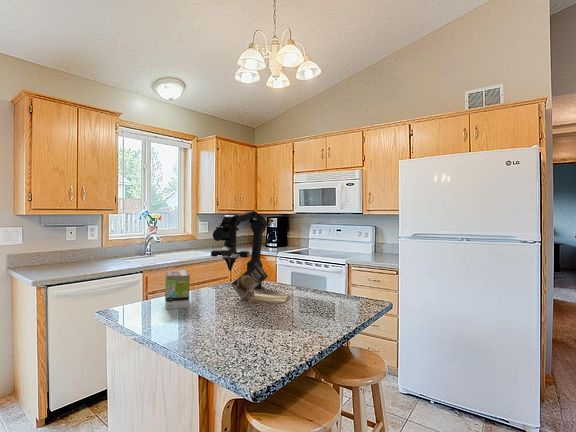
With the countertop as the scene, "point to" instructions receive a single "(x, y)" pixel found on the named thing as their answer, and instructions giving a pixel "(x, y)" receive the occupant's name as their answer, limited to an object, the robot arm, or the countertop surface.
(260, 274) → the coffee box
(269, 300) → the maple board
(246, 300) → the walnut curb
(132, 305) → the countertop surface
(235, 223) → the robot arm
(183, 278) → the tea box
